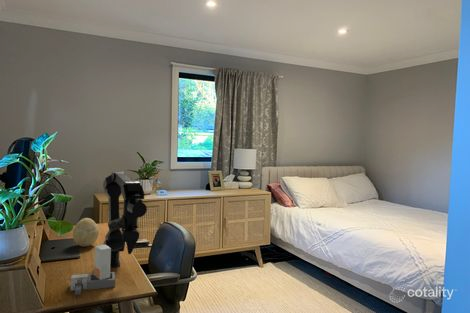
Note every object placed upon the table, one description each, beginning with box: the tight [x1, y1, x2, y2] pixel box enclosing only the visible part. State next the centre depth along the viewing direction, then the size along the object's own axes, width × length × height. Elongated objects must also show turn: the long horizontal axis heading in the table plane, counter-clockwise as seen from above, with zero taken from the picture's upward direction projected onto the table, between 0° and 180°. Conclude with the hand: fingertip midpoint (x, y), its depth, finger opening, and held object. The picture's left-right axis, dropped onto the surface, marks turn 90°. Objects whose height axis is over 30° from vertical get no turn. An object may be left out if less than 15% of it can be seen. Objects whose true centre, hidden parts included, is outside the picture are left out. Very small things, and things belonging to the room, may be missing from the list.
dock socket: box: [86, 271, 116, 291], centre depth 136 cm, size 8×10×3 cm
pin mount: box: [69, 273, 89, 292], centre depth 132 cm, size 6×6×4 cm
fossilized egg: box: [72, 217, 100, 248], centre depth 181 cm, size 13×13×15 cm
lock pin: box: [74, 280, 83, 296], centre depth 131 cm, size 11×2×3 cm, turn 21°
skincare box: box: [93, 244, 111, 280], centre depth 135 cm, size 6×4×12 cm
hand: (129, 250), depth 139 cm, fingers open, 9 cm apart
